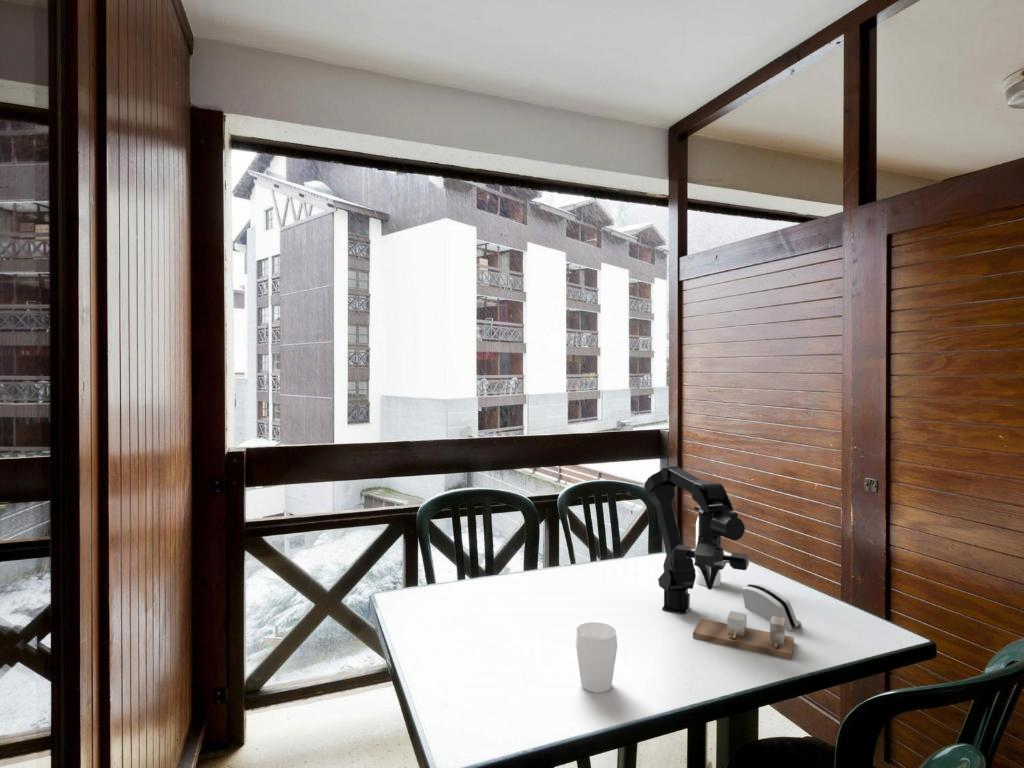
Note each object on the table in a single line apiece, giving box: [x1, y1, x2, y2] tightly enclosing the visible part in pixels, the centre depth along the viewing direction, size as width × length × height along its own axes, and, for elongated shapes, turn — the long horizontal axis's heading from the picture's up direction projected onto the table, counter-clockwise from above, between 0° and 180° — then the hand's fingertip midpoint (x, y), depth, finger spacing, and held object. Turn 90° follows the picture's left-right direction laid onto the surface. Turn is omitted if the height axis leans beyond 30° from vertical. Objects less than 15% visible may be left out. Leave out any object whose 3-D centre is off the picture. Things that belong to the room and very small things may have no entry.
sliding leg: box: [726, 610, 748, 638], centre depth 147 cm, size 4×8×4 cm, turn 150°
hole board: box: [692, 616, 795, 660], centre depth 146 cm, size 23×10×6 cm, turn 60°
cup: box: [575, 621, 618, 694], centre depth 125 cm, size 9×9×12 cm
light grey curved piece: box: [741, 582, 803, 632], centre depth 160 cm, size 17×5×10 cm, turn 19°
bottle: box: [695, 505, 722, 588], centre depth 188 cm, size 8×8×30 cm
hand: (709, 589), depth 151 cm, fingers closed
